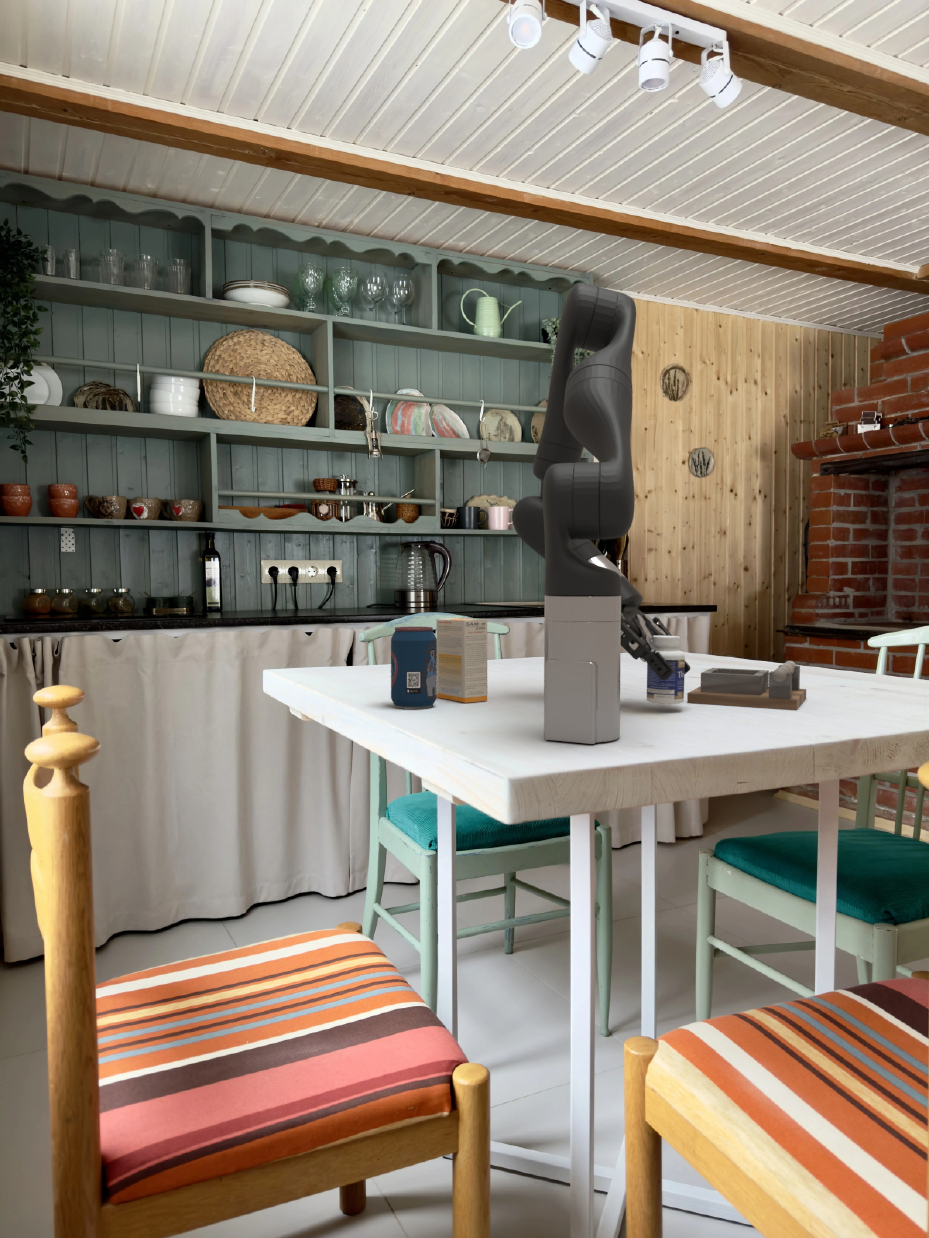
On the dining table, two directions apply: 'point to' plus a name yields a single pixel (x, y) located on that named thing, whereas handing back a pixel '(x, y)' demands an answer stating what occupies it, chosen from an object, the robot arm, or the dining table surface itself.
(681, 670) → the pill bottle
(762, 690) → the block
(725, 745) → the dining table surface
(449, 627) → the supplement box
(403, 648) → the soda can
